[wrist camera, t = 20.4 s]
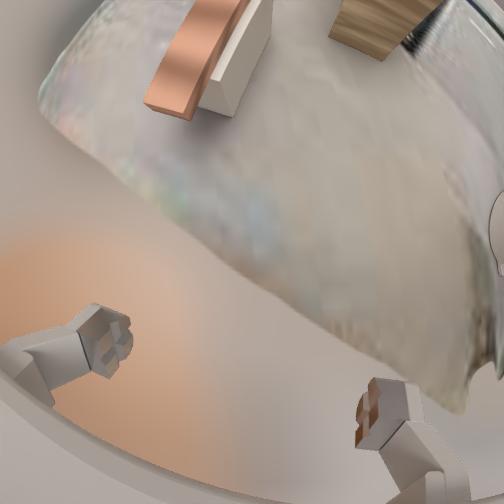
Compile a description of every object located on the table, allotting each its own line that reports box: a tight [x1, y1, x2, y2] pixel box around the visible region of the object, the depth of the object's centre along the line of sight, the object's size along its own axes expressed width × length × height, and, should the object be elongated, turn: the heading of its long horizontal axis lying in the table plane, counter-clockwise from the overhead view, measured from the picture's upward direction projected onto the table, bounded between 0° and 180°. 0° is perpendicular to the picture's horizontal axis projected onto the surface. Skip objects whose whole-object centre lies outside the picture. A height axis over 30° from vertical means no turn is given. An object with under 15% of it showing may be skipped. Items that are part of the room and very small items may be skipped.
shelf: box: [197, 0, 273, 118], centre depth 30 cm, size 15×6×14 cm, turn 159°
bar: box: [142, 0, 251, 121], centre depth 22 cm, size 20×4×3 cm, turn 159°
